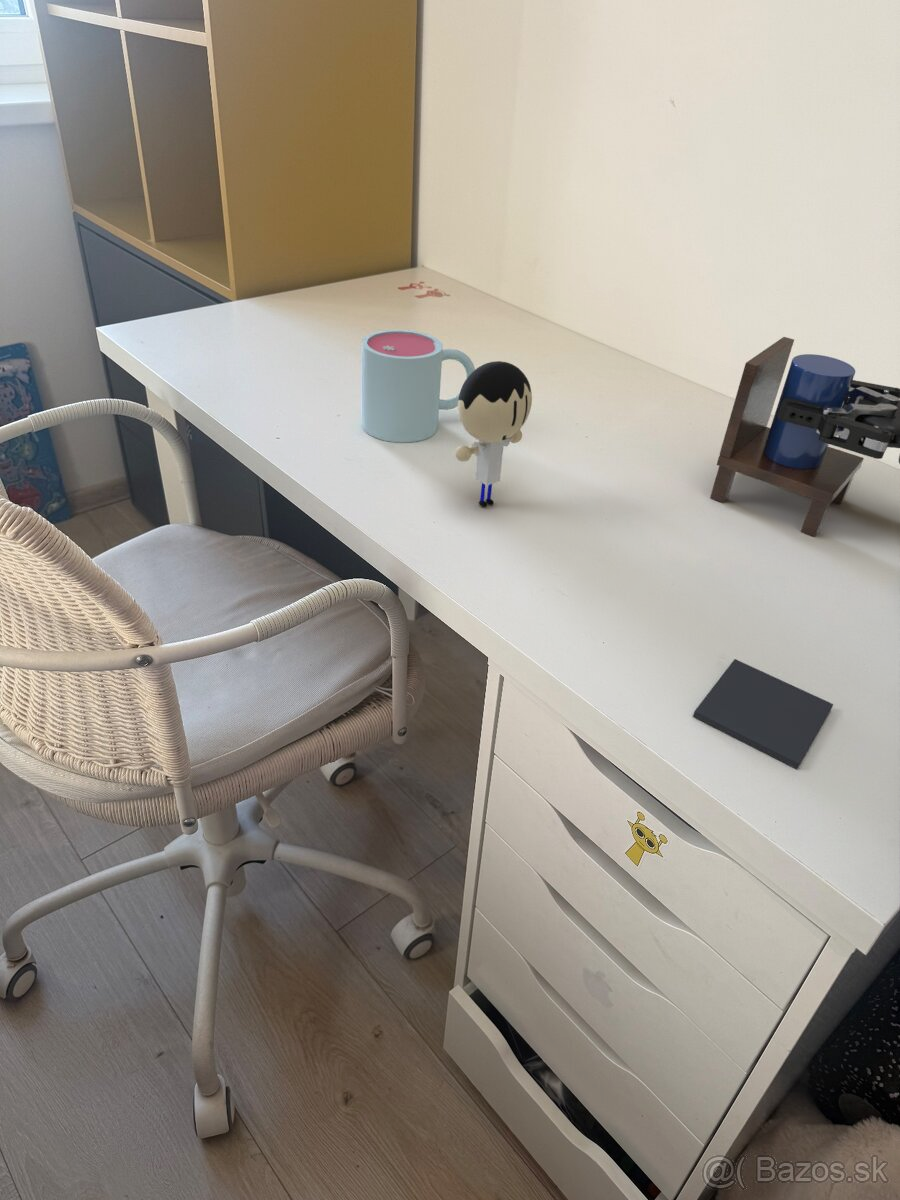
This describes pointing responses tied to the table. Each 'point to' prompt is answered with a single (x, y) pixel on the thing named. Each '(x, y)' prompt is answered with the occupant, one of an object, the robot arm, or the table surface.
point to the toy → (492, 417)
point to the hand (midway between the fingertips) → (786, 397)
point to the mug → (404, 384)
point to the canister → (813, 384)
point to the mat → (764, 712)
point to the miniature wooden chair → (751, 434)
